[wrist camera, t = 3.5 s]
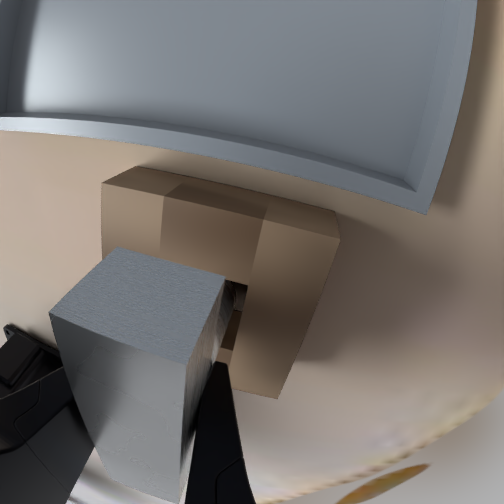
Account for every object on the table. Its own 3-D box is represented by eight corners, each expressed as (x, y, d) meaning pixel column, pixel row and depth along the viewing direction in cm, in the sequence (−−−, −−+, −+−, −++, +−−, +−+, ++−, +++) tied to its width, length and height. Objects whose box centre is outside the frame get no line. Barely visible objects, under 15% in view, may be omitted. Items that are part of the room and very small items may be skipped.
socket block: (282, 360, 15) (277, 399, 13) (132, 317, 16) (110, 349, 14) (334, 211, 12) (340, 239, 10) (135, 166, 12) (101, 183, 10)
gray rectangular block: (222, 368, 14) (178, 504, 8) (171, 353, 14) (111, 479, 8) (257, 205, 11) (186, 364, 4) (186, 188, 11) (48, 312, 4)
